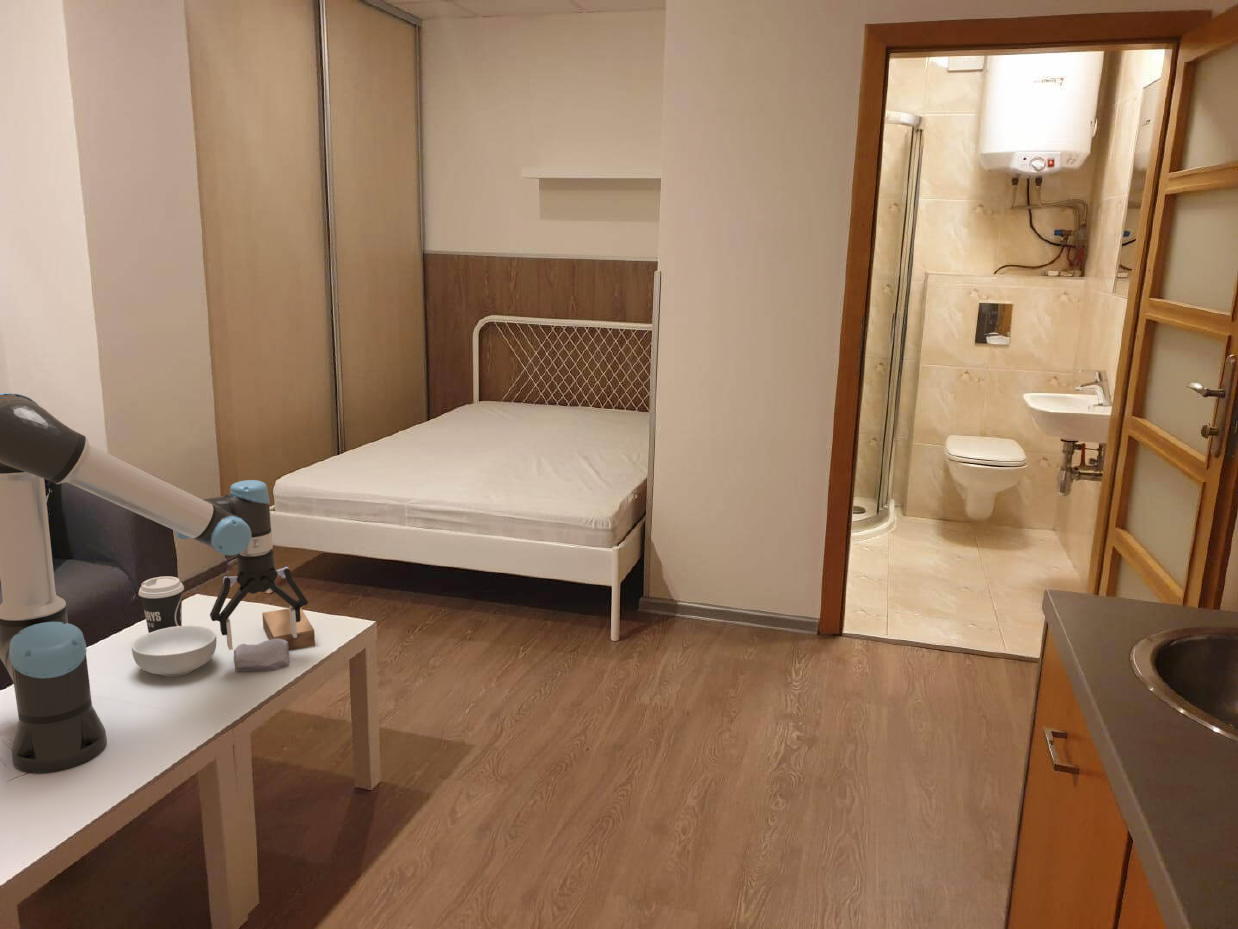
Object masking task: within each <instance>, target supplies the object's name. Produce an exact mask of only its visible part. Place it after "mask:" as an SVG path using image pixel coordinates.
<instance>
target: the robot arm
mask: <svg viewBox="0 0 1238 929" xmlns="http://www.w3.org/2000/svg"><path fill="white" fill-rule="evenodd" d="M45 480H46V481H49V482H51V483H53V484H56V485H61V484H64V483H68V484H70V485H73V486H74V487H77V488H80V489H81V490H84V491H85V492H88V493H90V494H92V495H95V496H97V497H99V498H101V499H103V500H107V501H108V502H111V503H113V504H114V505H118V506H119V507H122V508H124V509H126V510H128V511H131V512H132V513H135V514H137V515H139V516H142V517H144V518H145V519H148V520H151V521H153V522H155V523H158V524H160V525H161V526H164V527H166V528H169V529H171V530H173V532H174V534H175V536H176V537H177V538H178V539H179V540H187V539H193V540H194V541H197V542H198V543H199V542H200V543H202V544H203V545H206V546H208V547H210V548H212V549H213V550H214V551H215V552H217V553H219V554H221V555H224V556H225V555H226V556H235V555H236V561H237V562H236V563H237V574H236V575H233V576H232V575H231V576H229V575H228V574H224V575H223V576H222V586H221V588H220V591H219V593H218V595H217V597H216V600H215V602H214V604H213V606H212V609H211V611H210V613H209V616H210V620H211V622H212V621H213V622H219V626H220V633H221V635H222V636H226V644H227V648H228V651H232V650H233V651H234V649H233V648H234V647H233V638H232V625H231V621H230V616H231V615H232V614H233V613H234V611H235V610H236V609H237V608H238V606H239V605H240V603H241V602H242V600H243V599H244V598H246V596H247V595H248V594H252V595H253V594H257V593H265V592H267V591H268V590H271V591H272V592H273V593H275V594H277V595H278V596H279V597H280V598H282V599H283V600H284V601H285V602H286V603H288V604H289V605H290V606H289V608H288V609H289V610H290V622H291V634H292V636H293V638H296V637H297V629H296V622H300V620H301V618H300V609H301V608H302V607H303V606H307V605H308V604H309V601H308V600H307V598H306V597H305V595H304V593H303V592H302V590H301V589H300V588H299V586H298V584H297V583H296V582H295V580H294V579H293V577H292V574H291V570H290V568H289V567H288V565H284V566H282V568H278V569H276V566H275V555H274V551H273V544H274V543H273V535H272V534H273V533H272V523H271V522H272V521H271V508H270V507H271V506H270V504H271V502H270V496H269V490H268V486H267V484H266V483H265V482H263V481H261V480H256V479H250V480H249V479H248V480H247V479H246V480H239V481H238V482H234V483H233V484H231V485H230V491H229V493H228V494H225V495H221V496H214V497H209V498H200V497H198V496H196V495H194V494H192V493H190V492H188V491H186V490H183V489H181V488H179V487H177V486H175V485H173V484H171V483H170V482H167V481H165V480H163V479H161V478H159V477H156V476H154V475H153V474H151V473H148V472H146V471H144V470H142V469H141V468H139V467H137V466H134V465H133V464H130V463H127V462H126V461H123V460H122V459H119V458H118V457H116V456H114V455H111V454H109V453H108V452H105V451H103V450H102V449H99V448H97V447H95V446H93V445H91V444H90V442H89V440H88V437H87V436H86V435H84V434H81V433H79V432H77V431H76V430H73V429H72V428H70V427H69V426H68V425H66V424H65V423H63V422H61V421H60V420H58V418H56V417H55V416H53V415H52V414H51V413H50V412H49V411H48V410H46V409H44V408H43V407H41V405H39V404H38V403H37V402H36V401H34V399H32V398H31V397H28V396H25V395H22V394H19V393H11V392H1V393H0V587H1V596H2V603H1V604H0V661H1V662H2V663H3V665H4V667H5V669H6V670H7V673H8V674H9V676H10V678H11V680H12V682H13V687H14V694H15V700H16V701H15V702H16V709H17V716H18V723H17V727H16V731H15V734H14V738H13V742H12V747H11V758H12V764H13V766H14V767H15V768H16V769H18V770H20V771H23V772H26V773H33V774H34V773H36V774H37V773H39V774H40V773H50V772H58V771H62V770H66V769H69V768H74V767H77V766H80V765H82V764H84V763H86V762H88V761H90V760H92V759H93V758H95V757H97V755H100V753H101V752H103V751H104V749H105V747H106V746H107V743H108V739H107V731H106V727H105V726H104V724H103V722H102V721H101V718H100V717H99V715H98V714H97V712H96V710H95V708H94V707H93V704H92V694H91V693H92V692H91V688H90V687H91V686H90V684H91V683H90V677H89V676H90V675H89V668H88V659H87V643H86V640H85V638H84V634H83V632H82V630H81V629H80V628H79V627H78V626H76V625H74V624H72V623H68V622H69V620H68V612H67V602H66V600H65V599H64V598H62V597H60V596H59V595H57V594H56V585H55V584H56V583H55V574H54V572H55V571H54V565H53V554H52V553H53V552H52V545H51V543H52V542H51V535H50V525H49V515H48V514H49V513H48V505H47V503H48V502H47V496H46V484H45ZM278 576H280V577H281V578H282V579H284V580H286V582H287V584H288V585H289V586H290V588H291V590H292V591H293V593H294V594H295V595H296V596H297V598H298V600H296V599H295V598H293V596H291V594H289V593H288V592H286V591H285V590H284V589H283V588H282V587H280V585H278V584H277V583H276V582H275V581H276V579H277V578H278ZM235 583H237V584H239V587H238V588H237V590H236V592H235V594H234V595H233V596H232V597H231V599H230V600H229V602H227V604H226V605H225V607H224V608H223V606H224V604H225V602H226V600H227V598H228V594H229V592H230V589H231V587H234V584H235ZM222 608H223V610H222Z"/></svg>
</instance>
